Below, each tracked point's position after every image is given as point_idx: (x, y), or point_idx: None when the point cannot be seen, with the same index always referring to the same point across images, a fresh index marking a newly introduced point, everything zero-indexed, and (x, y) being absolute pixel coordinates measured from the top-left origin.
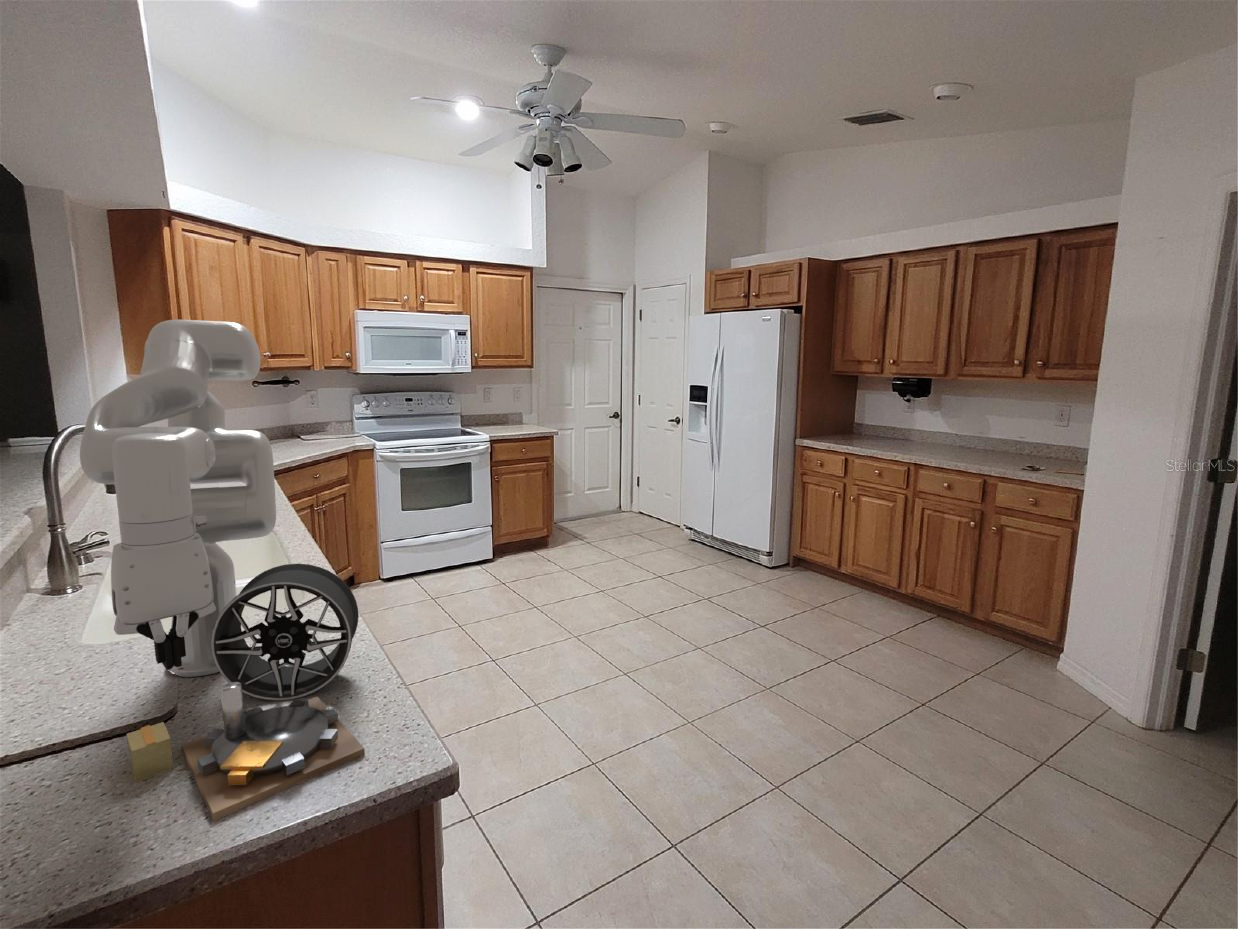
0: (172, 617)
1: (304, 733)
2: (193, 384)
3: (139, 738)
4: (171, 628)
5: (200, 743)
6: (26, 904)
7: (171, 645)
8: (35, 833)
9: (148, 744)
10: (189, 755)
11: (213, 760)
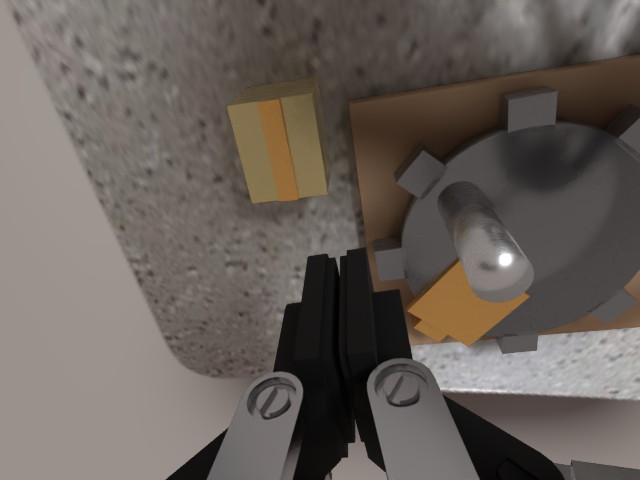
0: (386, 469)
1: (578, 281)
2: None
3: (261, 152)
4: (367, 419)
5: (388, 127)
6: (184, 355)
7: (354, 424)
8: (141, 230)
9: (283, 200)
10: (362, 167)
11: (400, 274)
